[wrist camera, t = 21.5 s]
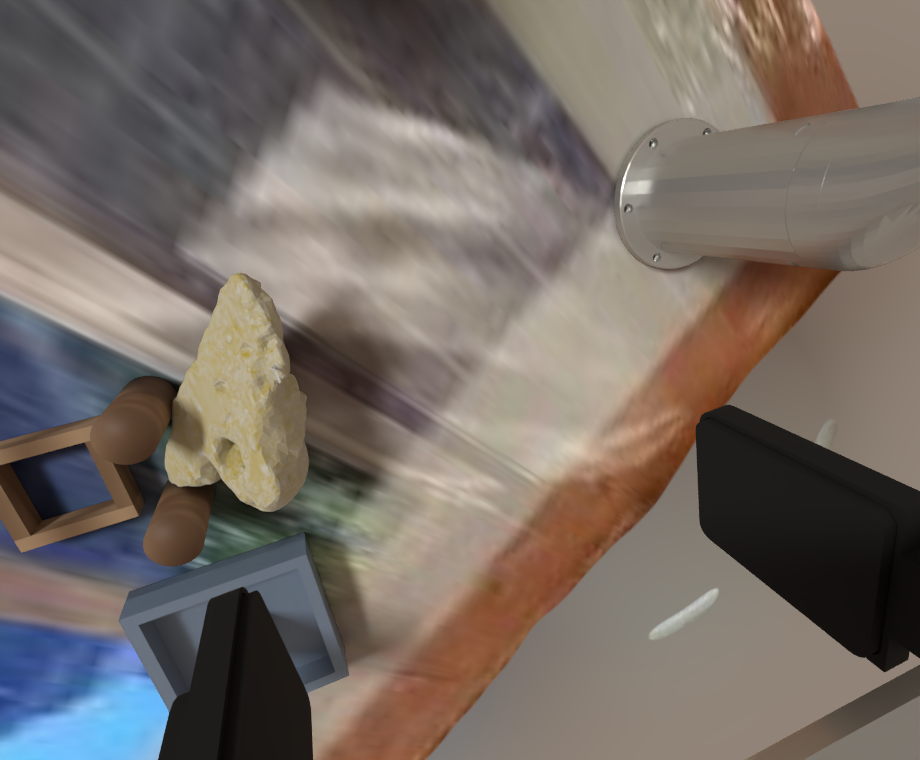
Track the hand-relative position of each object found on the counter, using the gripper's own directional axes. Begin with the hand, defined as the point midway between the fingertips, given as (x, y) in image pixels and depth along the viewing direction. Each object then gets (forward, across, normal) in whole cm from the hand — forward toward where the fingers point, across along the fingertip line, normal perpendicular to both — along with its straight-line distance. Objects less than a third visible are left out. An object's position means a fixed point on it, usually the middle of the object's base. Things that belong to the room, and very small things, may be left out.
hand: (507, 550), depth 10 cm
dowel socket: (+32, +23, +7) cm, 40 cm away
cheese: (+33, +10, +4) cm, 34 cm away
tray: (+32, +17, +26) cm, 44 cm away
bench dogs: (+32, +16, +8) cm, 37 cm away
